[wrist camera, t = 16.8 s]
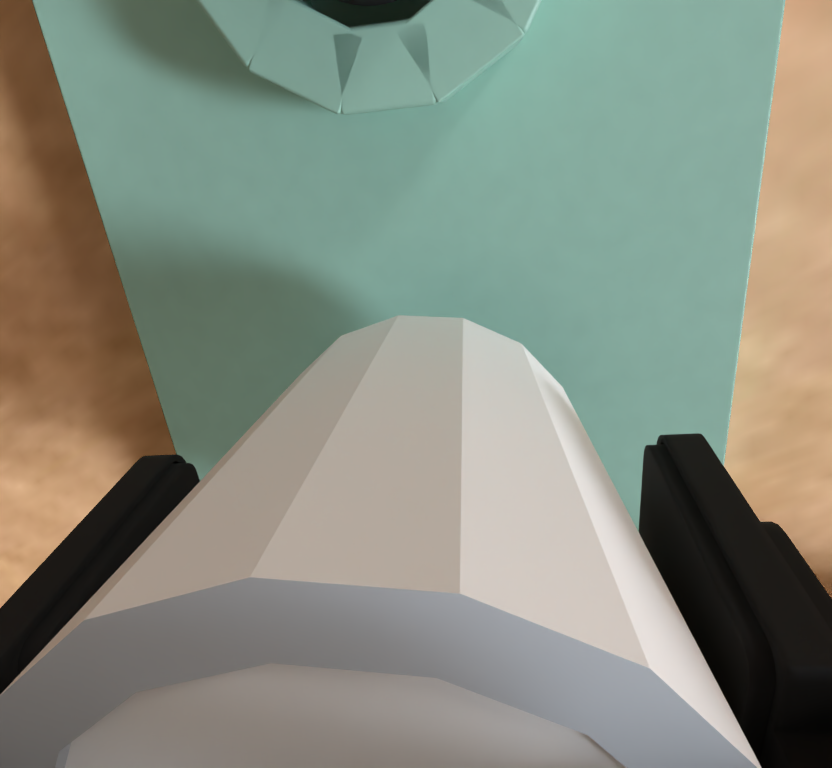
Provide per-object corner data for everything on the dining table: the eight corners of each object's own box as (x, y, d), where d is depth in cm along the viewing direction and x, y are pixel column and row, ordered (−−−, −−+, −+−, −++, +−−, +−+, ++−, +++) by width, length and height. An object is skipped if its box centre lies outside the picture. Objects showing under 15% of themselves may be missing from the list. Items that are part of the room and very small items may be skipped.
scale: (21, -209, 11) (-162, -330, 8) (786, -361, 9) (943, -593, 6) (232, 520, 18) (179, 610, 15) (691, 507, 16) (742, 607, 13)
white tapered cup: (177, 397, 11) (-194, 769, 5) (494, 195, 9) (526, 406, 3) (381, 632, 14) (297, 1096, 7) (676, 512, 11) (917, 1021, 5)
